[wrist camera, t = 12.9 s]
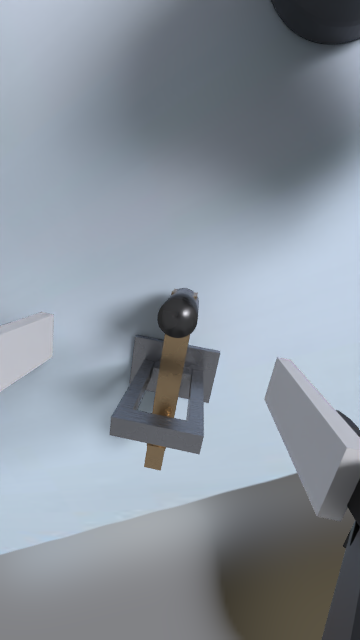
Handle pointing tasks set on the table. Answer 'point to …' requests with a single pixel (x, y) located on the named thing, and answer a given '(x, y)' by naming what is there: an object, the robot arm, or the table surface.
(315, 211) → the table surface
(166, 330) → the hook bar
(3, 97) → the table surface
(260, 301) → the table surface
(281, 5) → the robot arm
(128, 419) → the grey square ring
